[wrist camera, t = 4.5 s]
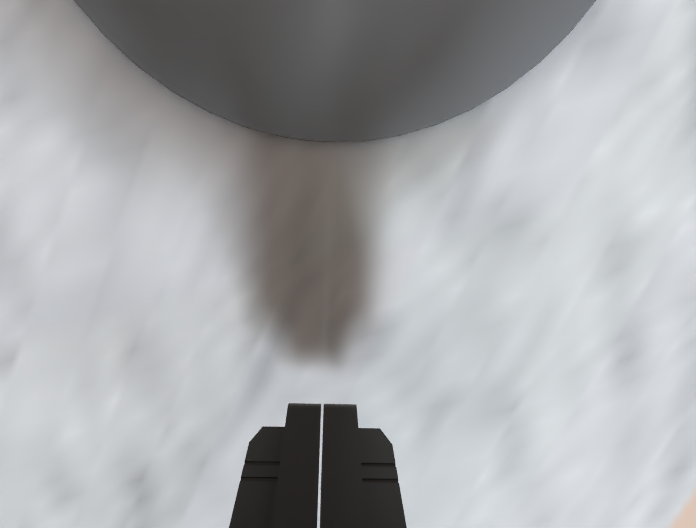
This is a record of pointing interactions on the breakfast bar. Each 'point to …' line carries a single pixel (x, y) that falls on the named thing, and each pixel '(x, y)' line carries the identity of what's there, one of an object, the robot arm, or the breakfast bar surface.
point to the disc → (336, 57)
